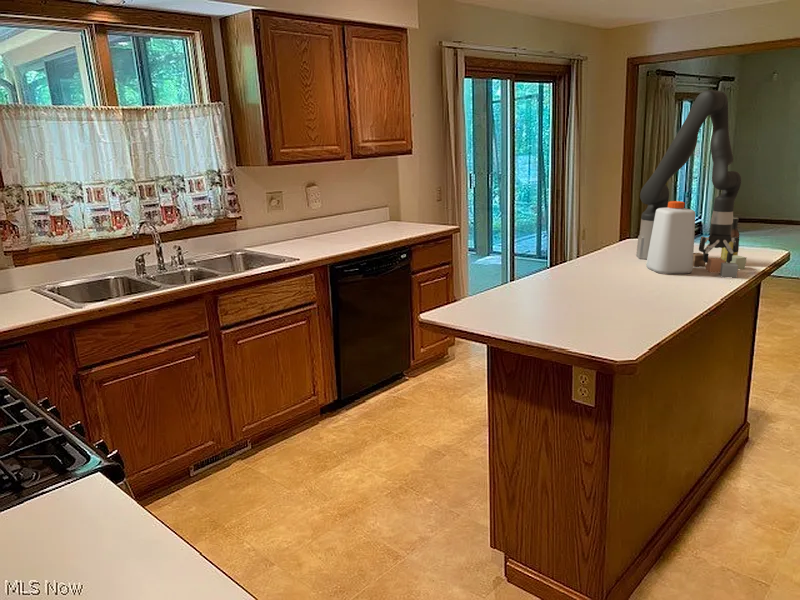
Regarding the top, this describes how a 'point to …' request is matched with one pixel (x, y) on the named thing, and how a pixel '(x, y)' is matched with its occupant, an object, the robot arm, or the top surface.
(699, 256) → the walnut cube
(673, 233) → the plastic bottle
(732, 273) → the slate cube
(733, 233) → the sauce bottle
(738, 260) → the sage cube
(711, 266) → the terracotta cube
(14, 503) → the top surface
